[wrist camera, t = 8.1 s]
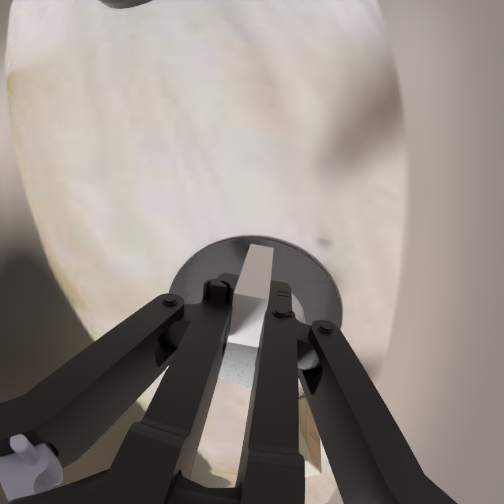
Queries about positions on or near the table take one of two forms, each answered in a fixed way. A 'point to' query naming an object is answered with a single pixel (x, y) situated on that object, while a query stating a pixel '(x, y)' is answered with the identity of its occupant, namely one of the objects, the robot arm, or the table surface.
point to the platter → (283, 270)
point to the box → (309, 440)
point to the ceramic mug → (238, 364)
